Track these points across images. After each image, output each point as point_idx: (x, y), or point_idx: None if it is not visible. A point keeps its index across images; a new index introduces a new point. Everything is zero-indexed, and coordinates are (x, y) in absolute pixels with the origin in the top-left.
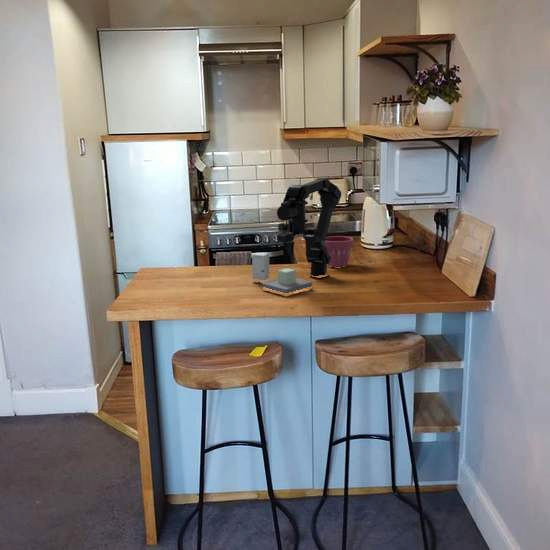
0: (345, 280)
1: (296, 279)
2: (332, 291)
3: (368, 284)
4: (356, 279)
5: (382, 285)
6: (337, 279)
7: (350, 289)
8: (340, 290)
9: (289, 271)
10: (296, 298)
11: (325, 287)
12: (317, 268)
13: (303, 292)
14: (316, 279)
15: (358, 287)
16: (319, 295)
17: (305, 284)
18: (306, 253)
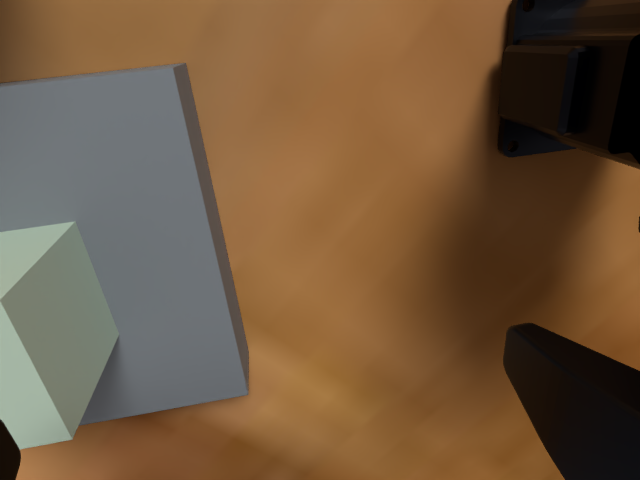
0: (576, 303)
1: (180, 252)
2: (321, 441)
3: None
4: (632, 325)
5: None
6: (571, 250)
7: (424, 457)
8: (370, 447)
9: None
10: (29, 450)
11: (353, 359)
12: (578, 141)
13: None
14: (480, 137)
15: (483, 449)
16: (203, 465)
17: (167, 405)
18: (509, 328)
